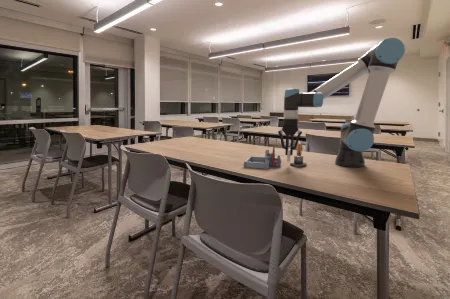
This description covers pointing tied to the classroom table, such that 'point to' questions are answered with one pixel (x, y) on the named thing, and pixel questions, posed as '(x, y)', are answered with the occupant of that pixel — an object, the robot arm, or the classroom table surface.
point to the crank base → (298, 164)
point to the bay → (256, 162)
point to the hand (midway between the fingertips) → (288, 161)
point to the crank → (298, 155)
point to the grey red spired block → (272, 159)
